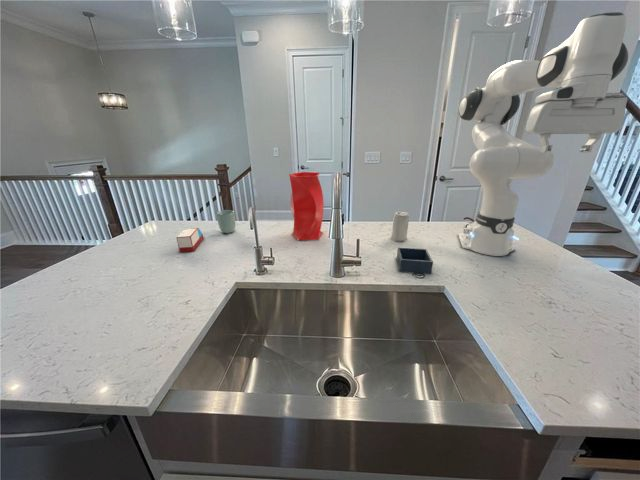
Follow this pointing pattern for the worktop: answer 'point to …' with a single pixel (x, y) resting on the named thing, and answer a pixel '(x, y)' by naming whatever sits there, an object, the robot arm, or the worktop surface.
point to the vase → (306, 205)
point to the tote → (414, 260)
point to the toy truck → (189, 239)
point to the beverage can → (400, 226)
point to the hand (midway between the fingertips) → (565, 152)
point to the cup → (226, 221)
